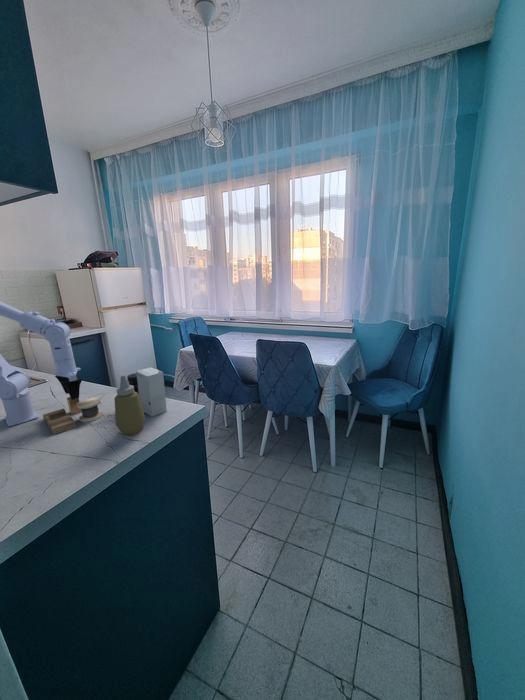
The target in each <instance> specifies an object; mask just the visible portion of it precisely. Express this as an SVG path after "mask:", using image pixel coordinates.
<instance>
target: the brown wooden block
mask: <svg viewBox="0 0 525 700" xmlns="http://www.w3.org/2000/svg"><path fill="white" fill-rule="evenodd" d="M66 402H67V405H68V411H69V413H70V414H71V416H72V415H76V414H78V413H82V411H81V409H78V408H77V406H76V404H77V403H78V402H80V397H79V398H77V399H73V400H72V399H71V397H70V396H68V397H66Z"/></svg>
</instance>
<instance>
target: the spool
mask: <svg viewBox="0 0 525 700" xmlns="http://www.w3.org/2000/svg"><path fill="white" fill-rule="evenodd" d="M100 404H101V399H100V398H98V397H90V398H89V397H88V398H86V399H82V400H79V402H78V403H77V404H76V406H77V408H78V409H81V411H82V412H81V415H80V416H79V418H78V419H79V420H78V421H80V422H81V423H90V422H94V421H96V420H99V419H102V417H103V416H104V413H103V411H102V410H99V407H98V406H99V405H100Z"/></svg>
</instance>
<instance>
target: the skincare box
mask: <svg viewBox="0 0 525 700" xmlns="http://www.w3.org/2000/svg"><path fill="white" fill-rule="evenodd" d="M136 373H137V382H138V391H139V398H140V402H141V405H142V409H143V412H144V413H145V414H147V415H149V416H150V417H155V416H157V415H159V414H163V413H165V412H167V410H168V409H167V399H166V390H165V379H164V372H163V371H161V370H159V369H157V368H153V367H152V366H151V367H146V368H143V369H138V370H136Z"/></svg>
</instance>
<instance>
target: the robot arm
mask: <svg viewBox="0 0 525 700" xmlns="http://www.w3.org/2000/svg"><path fill="white" fill-rule="evenodd" d="M0 316H2V317H4V318H7V319H9V320H13V321H15V322H18V324H19V326H20V327H21V328H23V329H25V330H27V331H30V332H32V333H35V334H37V335H40V336H43V337H44V339H45V340H46V341H48V342H49V346H50V351H51V356H52V359H53V362H54V363H53V364H54V367H55V371H56V372H55V375H54V377H55V378H56V379H57V380H58V382H59V383H60V385H61V387H62V389H63V391H64V393H65V395H67V394H68V395H69V397H71V399H72V400H73V399H77V398H79V399H80V387H81V383H82V382H83V378H82V377H77V373H78V372H79V371H81V368H80V367H77V365H76V362H75V361H76V360H75V357H74V352H73V348H72V343H71V340H70V335H71V331H72V330H71V327H70V326H69V325H68V324H66V323H65V322H64V321H57V322H56V320H55V319H53V318H52V319H49V318H47V317H46V316H42V315H41V313H40V312H39V311H27V312H24V311H22V310H20V309H18V308H16V307H13V306H11V305H9V304H7V303H4V302H3V301H0ZM30 384H31V378H30V375H28V374H26V373H25V372H23V371H21V370H20V369H19V367H17V366H14V365H11V364H9V362H8V361H7V360H6V359H5V357H3V356H2V354H1V353H0V401H1V403H2V405H3V408H4V412H5V415H6V416H5V417H4V419H5V421H6V424H7V426H8V427H12V426H13V427H14V426H17V425H19V424H23V423H26V422H29V421H32V420H36V419H38V418H39V415H38V414H37V412H36V410H35V409H34V405H33V401H32V398H31V395H30V391H29V386H30Z"/></svg>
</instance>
